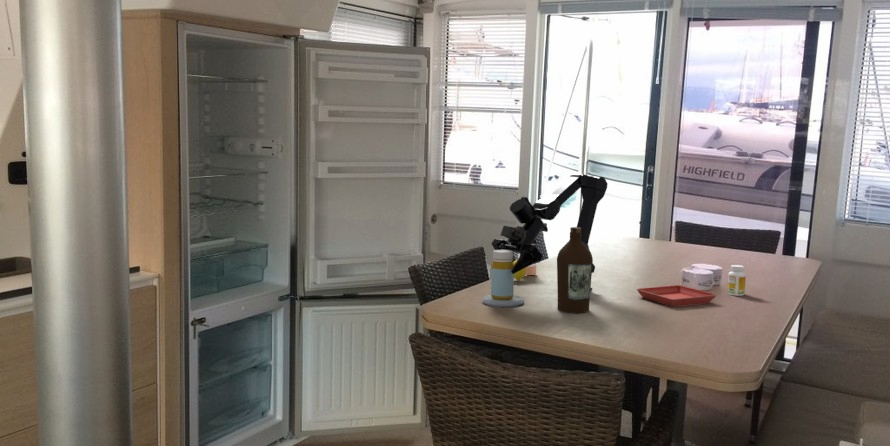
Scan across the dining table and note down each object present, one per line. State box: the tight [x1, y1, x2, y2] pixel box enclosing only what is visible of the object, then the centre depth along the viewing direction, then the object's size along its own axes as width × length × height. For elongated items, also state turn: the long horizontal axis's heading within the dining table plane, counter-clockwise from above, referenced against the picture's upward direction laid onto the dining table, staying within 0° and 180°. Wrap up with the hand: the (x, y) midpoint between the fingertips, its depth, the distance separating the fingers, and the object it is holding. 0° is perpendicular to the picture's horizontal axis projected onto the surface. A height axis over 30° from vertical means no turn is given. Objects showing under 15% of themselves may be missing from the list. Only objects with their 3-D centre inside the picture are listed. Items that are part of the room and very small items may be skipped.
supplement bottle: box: [727, 264, 747, 297], centre depth 253 cm, size 5×5×10 cm
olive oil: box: [556, 226, 594, 314], centre depth 227 cm, size 11×11×25 cm
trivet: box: [482, 294, 525, 308], centre depth 237 cm, size 13×13×1 cm
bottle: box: [490, 249, 515, 300], centre depth 237 cm, size 7×7×15 cm
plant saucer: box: [636, 284, 717, 308], centre depth 243 cm, size 18×18×3 cm
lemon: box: [513, 258, 526, 281], centre depth 273 cm, size 6×6×8 cm
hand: (502, 270), depth 236 cm, fingers open, 9 cm apart
